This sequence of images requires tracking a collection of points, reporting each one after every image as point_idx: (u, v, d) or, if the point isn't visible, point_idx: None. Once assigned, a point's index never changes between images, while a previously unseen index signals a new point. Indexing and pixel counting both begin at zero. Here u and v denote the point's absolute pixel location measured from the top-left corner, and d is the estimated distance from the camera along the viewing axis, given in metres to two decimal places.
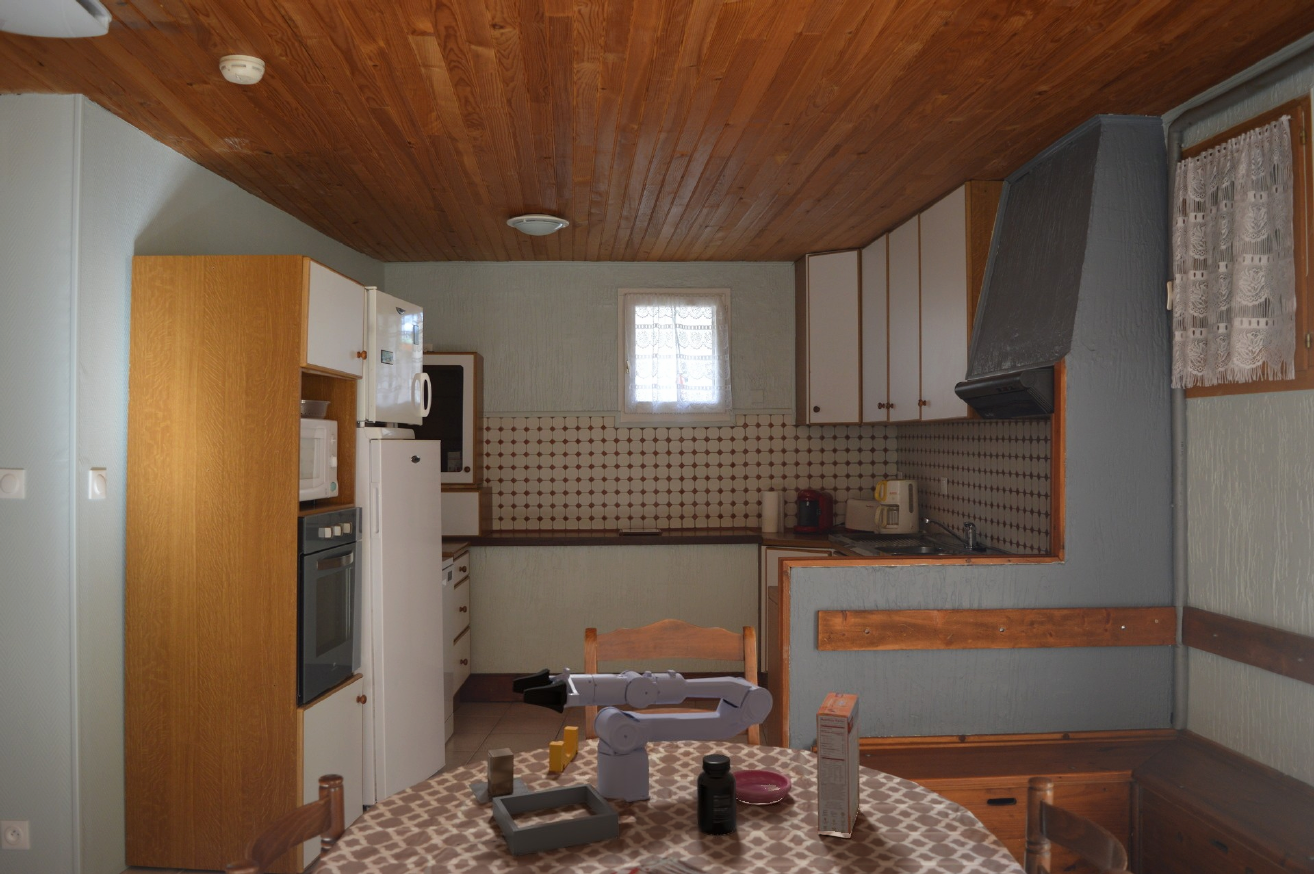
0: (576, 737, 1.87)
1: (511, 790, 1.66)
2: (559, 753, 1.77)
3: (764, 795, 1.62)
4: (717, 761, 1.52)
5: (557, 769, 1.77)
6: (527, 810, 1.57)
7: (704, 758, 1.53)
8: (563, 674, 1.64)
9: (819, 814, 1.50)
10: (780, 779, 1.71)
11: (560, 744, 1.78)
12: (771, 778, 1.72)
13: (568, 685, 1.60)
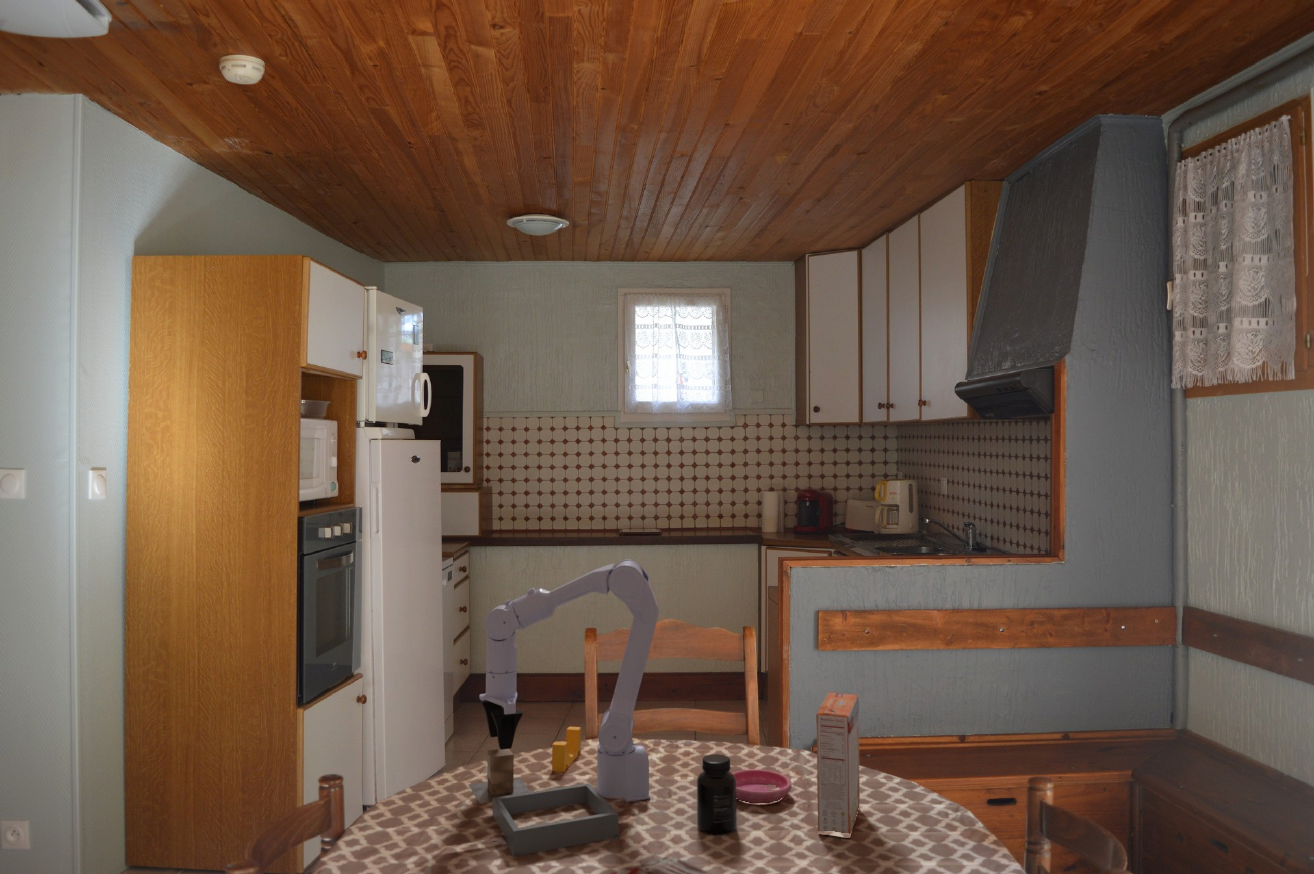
0: (579, 737, 1.87)
1: (511, 790, 1.66)
2: (562, 753, 1.77)
3: (764, 795, 1.62)
4: (717, 761, 1.52)
5: (560, 769, 1.77)
6: (527, 810, 1.57)
7: (704, 758, 1.53)
8: None
9: (819, 814, 1.50)
10: (780, 779, 1.71)
11: (563, 744, 1.78)
12: (771, 778, 1.72)
13: None
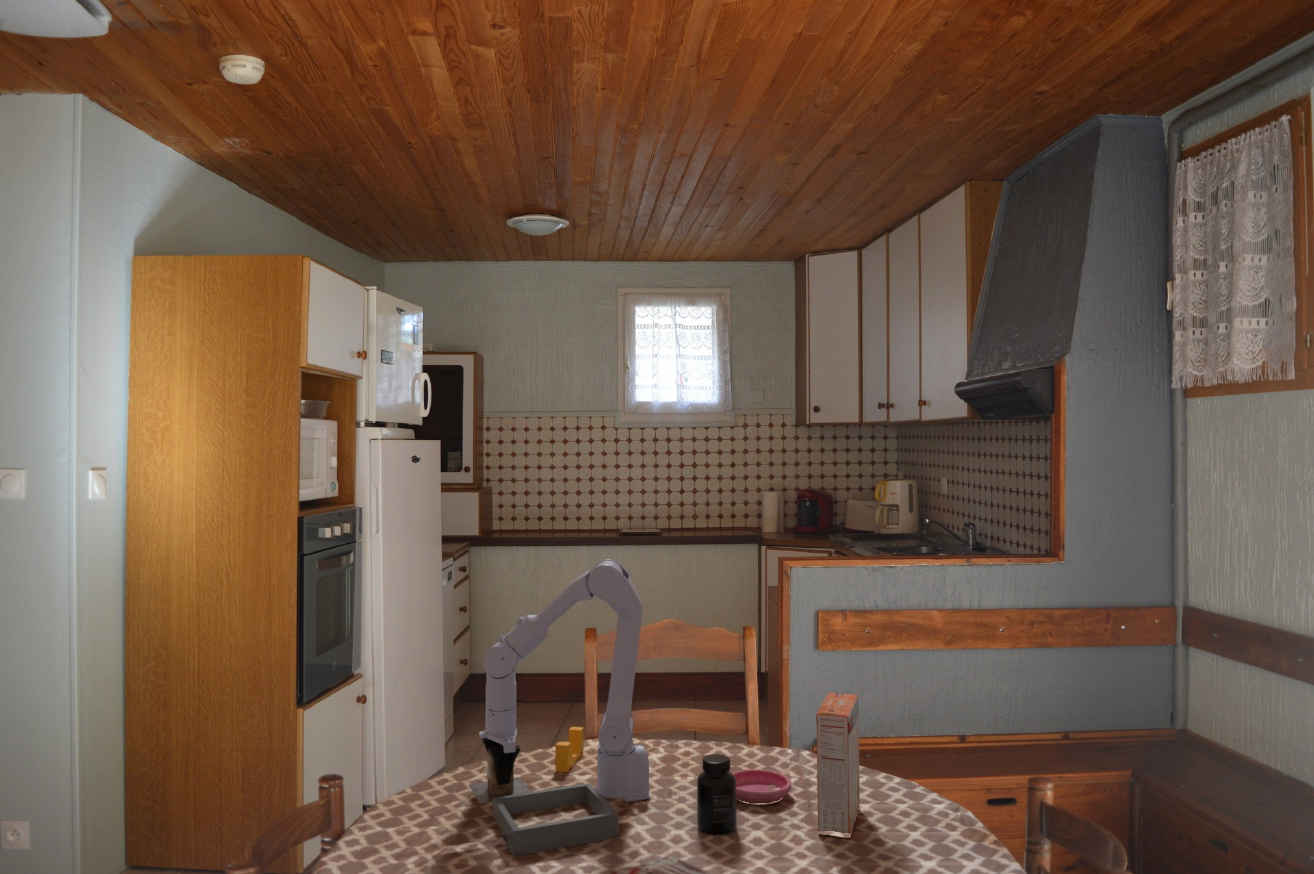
0: (581, 737, 1.87)
1: (511, 790, 1.66)
2: (565, 753, 1.77)
3: (764, 795, 1.62)
4: (717, 761, 1.52)
5: (563, 769, 1.77)
6: (527, 810, 1.57)
7: (704, 758, 1.53)
8: None
9: (819, 814, 1.50)
10: (780, 779, 1.71)
11: (566, 744, 1.77)
12: (771, 778, 1.72)
13: None
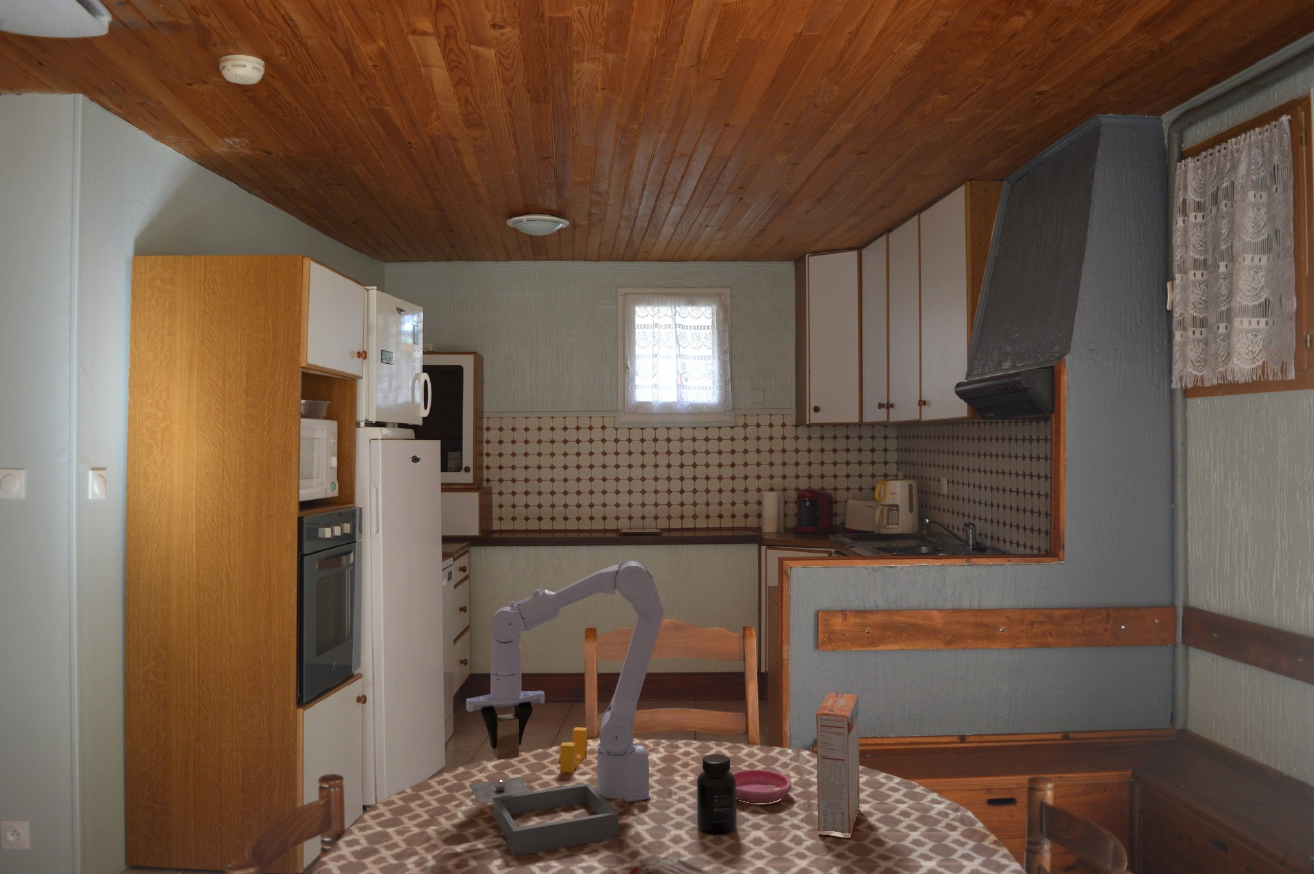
0: (585, 738, 1.87)
1: (497, 757, 1.64)
2: (570, 754, 1.77)
3: (764, 795, 1.62)
4: (717, 761, 1.52)
5: (568, 770, 1.77)
6: (527, 810, 1.57)
7: (704, 758, 1.53)
8: None
9: (819, 814, 1.50)
10: (780, 779, 1.71)
11: (571, 745, 1.77)
12: (771, 778, 1.72)
13: None
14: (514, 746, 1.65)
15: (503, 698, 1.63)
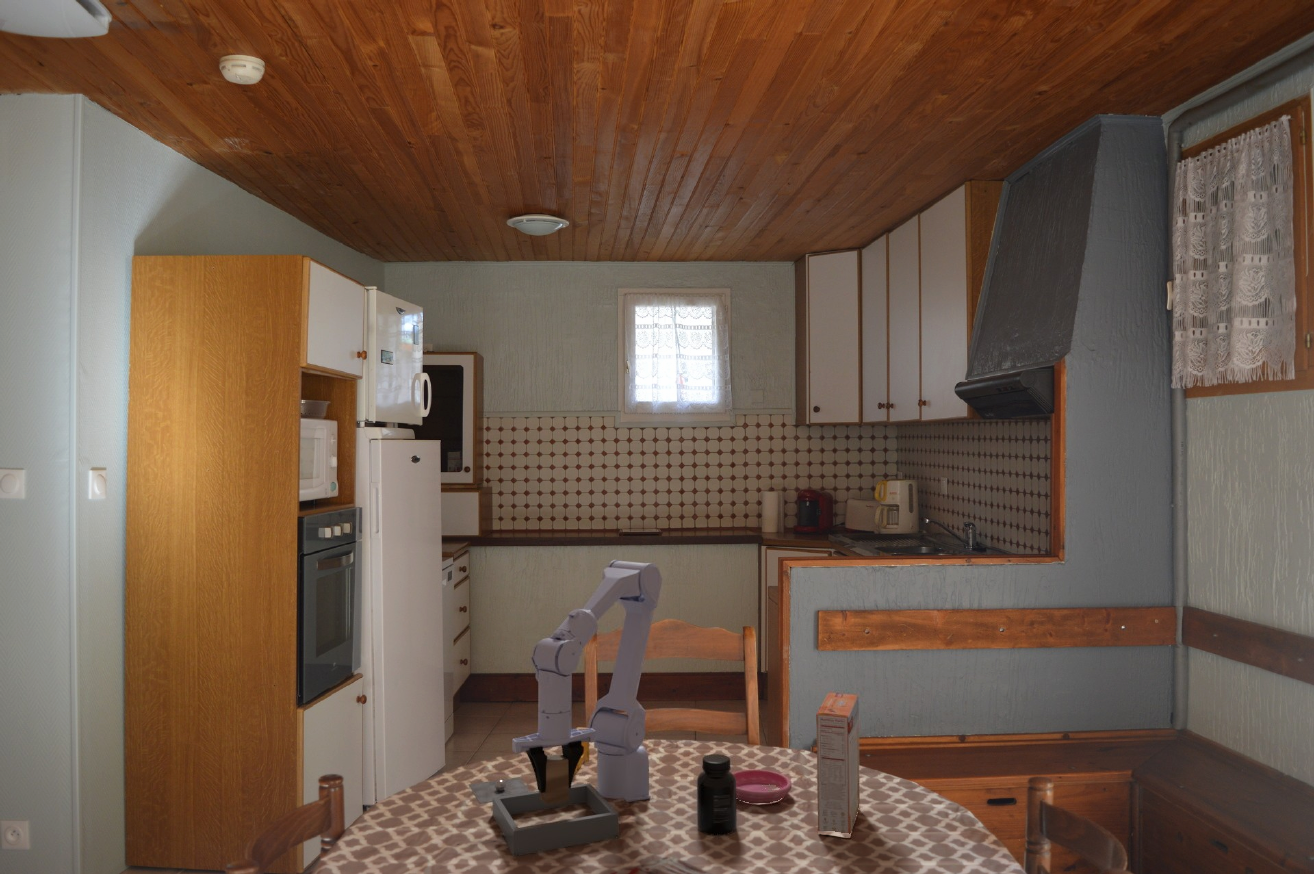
0: None
1: (545, 802, 1.50)
2: None
3: (764, 795, 1.62)
4: (717, 761, 1.52)
5: None
6: (527, 810, 1.57)
7: (704, 758, 1.53)
8: None
9: (819, 814, 1.50)
10: (780, 779, 1.71)
11: None
12: (771, 778, 1.72)
13: None
14: (564, 789, 1.52)
15: (553, 738, 1.50)
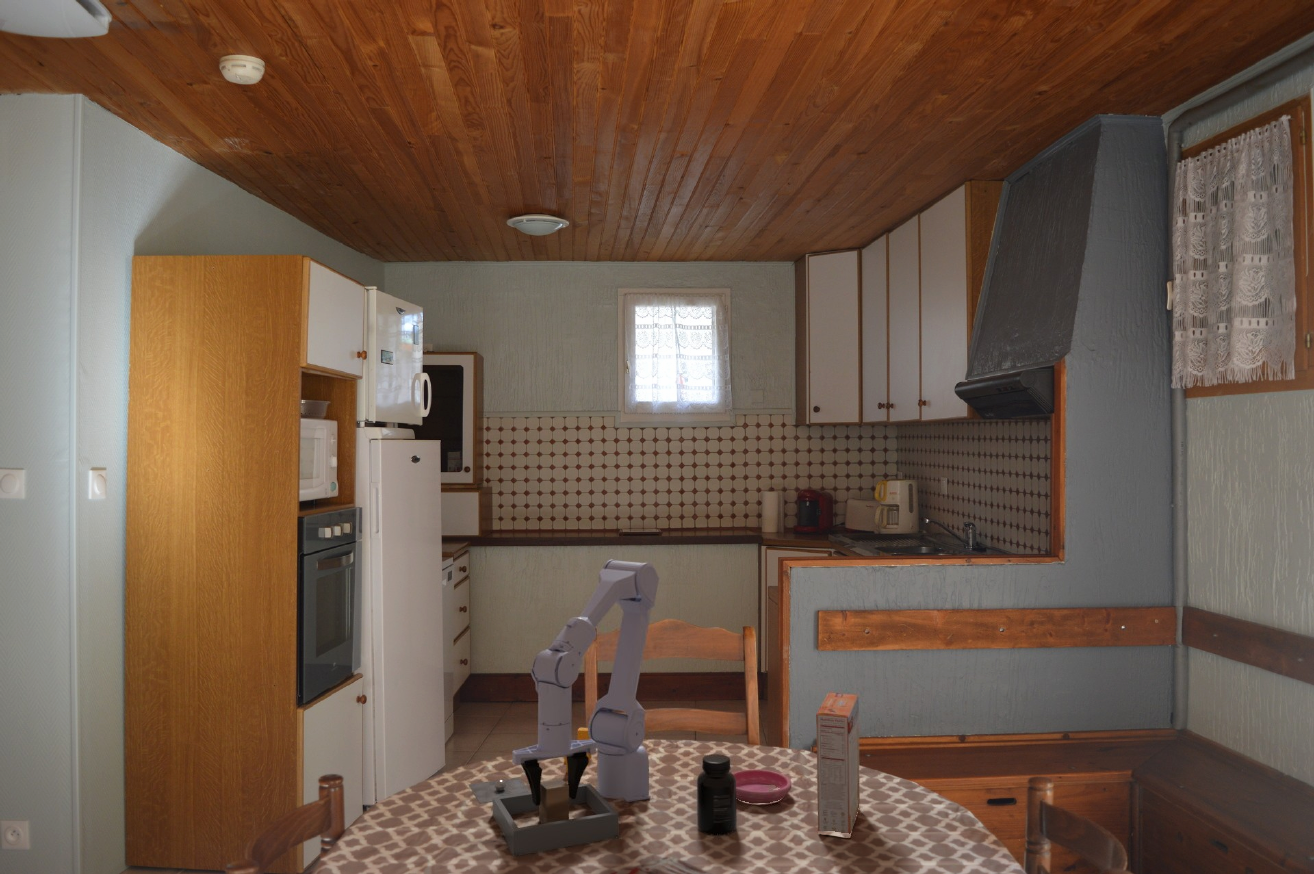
0: None
1: None
2: None
3: (764, 795, 1.62)
4: (717, 761, 1.52)
5: None
6: (527, 810, 1.57)
7: (704, 758, 1.53)
8: None
9: (819, 814, 1.50)
10: (780, 779, 1.71)
11: None
12: (771, 778, 1.72)
13: None
14: (564, 815, 1.52)
15: (553, 750, 1.50)
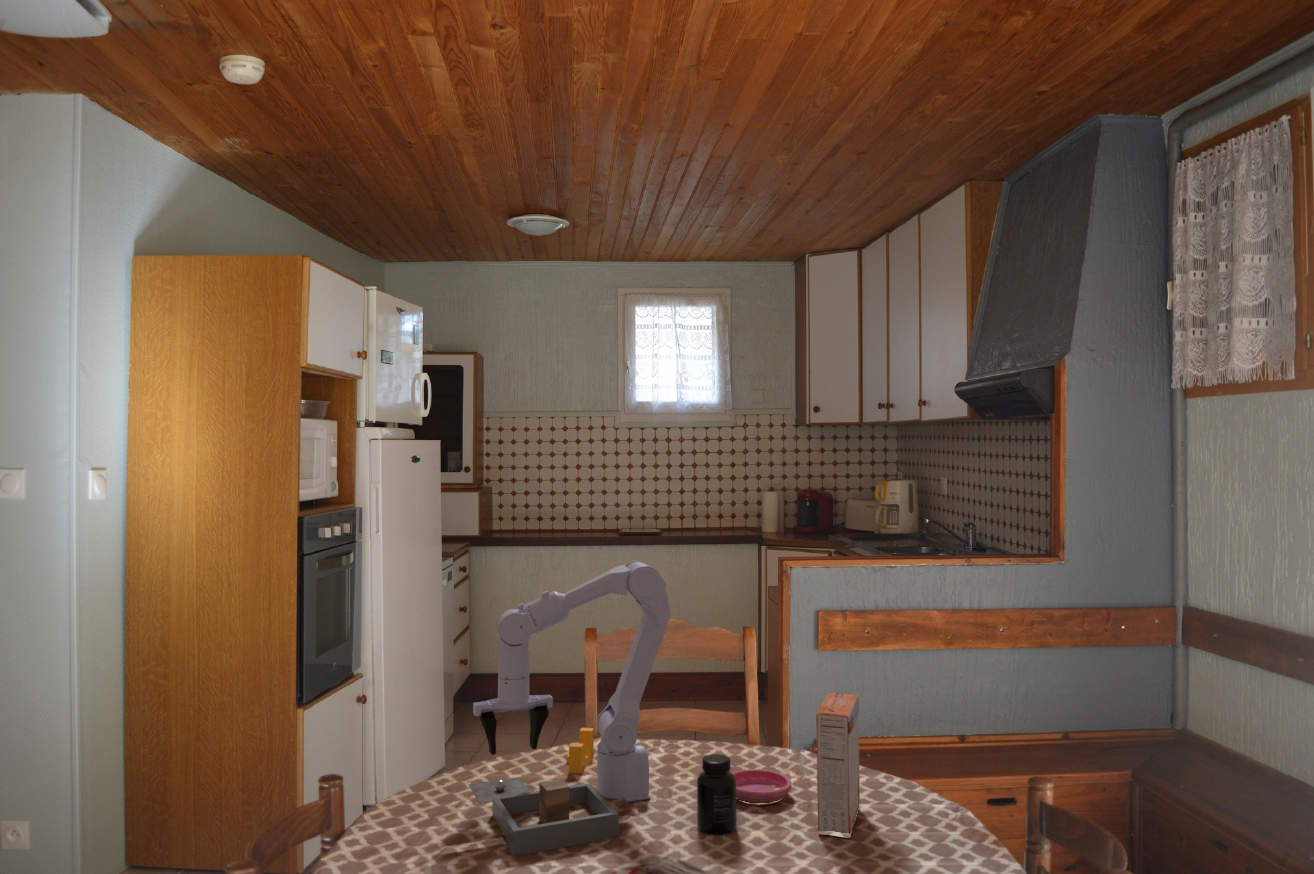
0: (592, 738, 1.87)
1: None
2: (579, 755, 1.76)
3: (764, 795, 1.62)
4: (717, 761, 1.52)
5: (577, 771, 1.76)
6: (527, 810, 1.57)
7: (704, 758, 1.53)
8: None
9: (819, 814, 1.50)
10: (780, 779, 1.71)
11: (580, 746, 1.77)
12: (771, 778, 1.72)
13: None
14: (564, 816, 1.51)
15: (511, 702, 1.60)
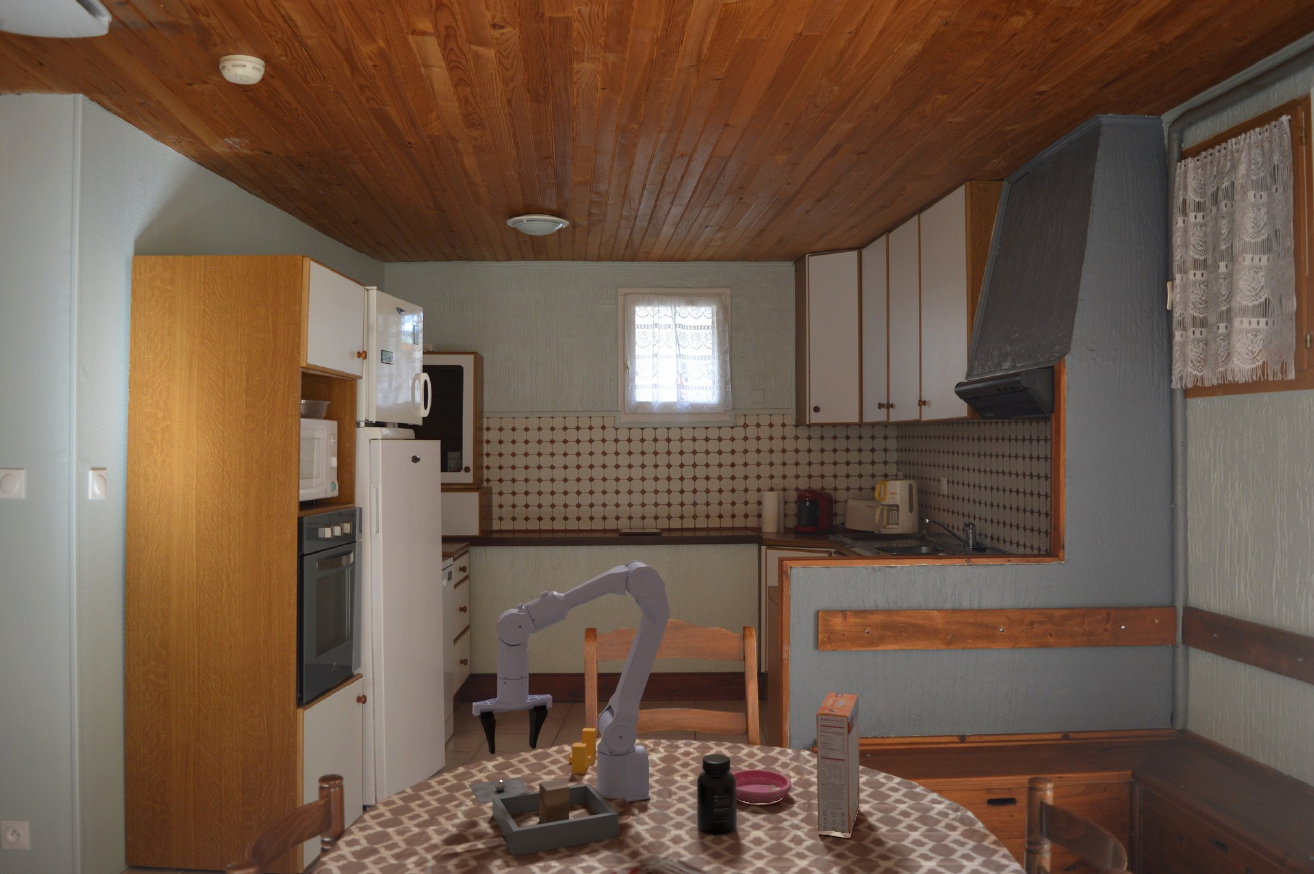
0: (594, 738, 1.87)
1: None
2: (582, 755, 1.76)
3: (764, 795, 1.62)
4: (717, 761, 1.52)
5: (580, 771, 1.76)
6: (527, 810, 1.57)
7: (704, 758, 1.53)
8: None
9: (819, 814, 1.50)
10: (780, 779, 1.71)
11: (583, 746, 1.77)
12: (771, 778, 1.72)
13: None
14: (564, 816, 1.51)
15: (510, 702, 1.61)
